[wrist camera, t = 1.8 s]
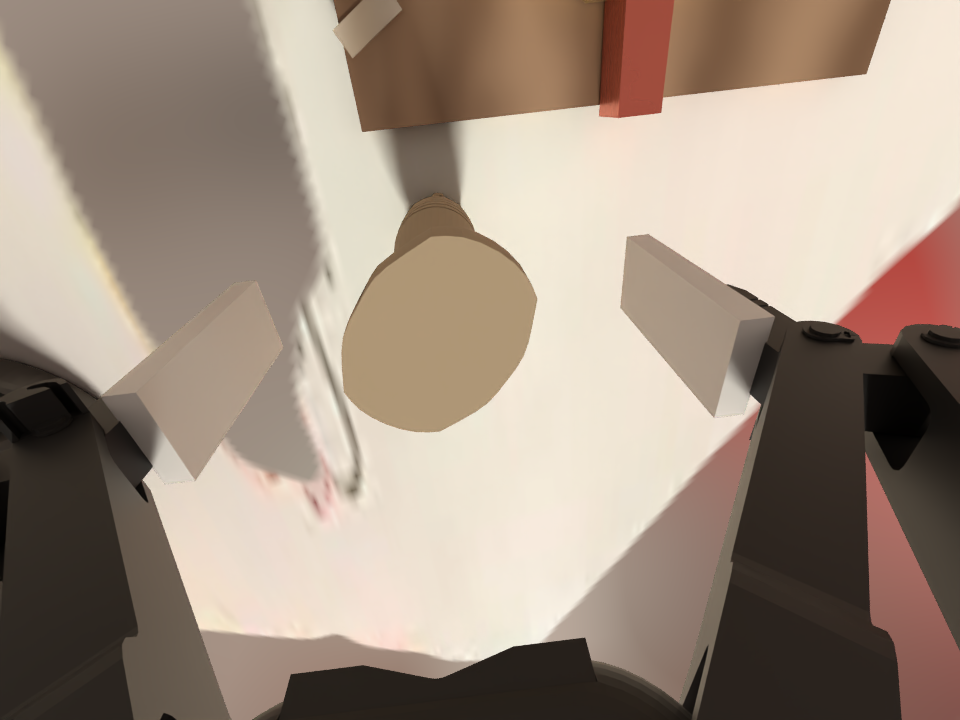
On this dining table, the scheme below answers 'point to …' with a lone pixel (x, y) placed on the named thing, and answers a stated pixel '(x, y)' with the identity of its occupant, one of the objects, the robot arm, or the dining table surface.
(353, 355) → the handle
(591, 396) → the dining table surface
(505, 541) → the dining table surface
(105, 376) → the dining table surface
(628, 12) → the ring nut
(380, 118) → the board
